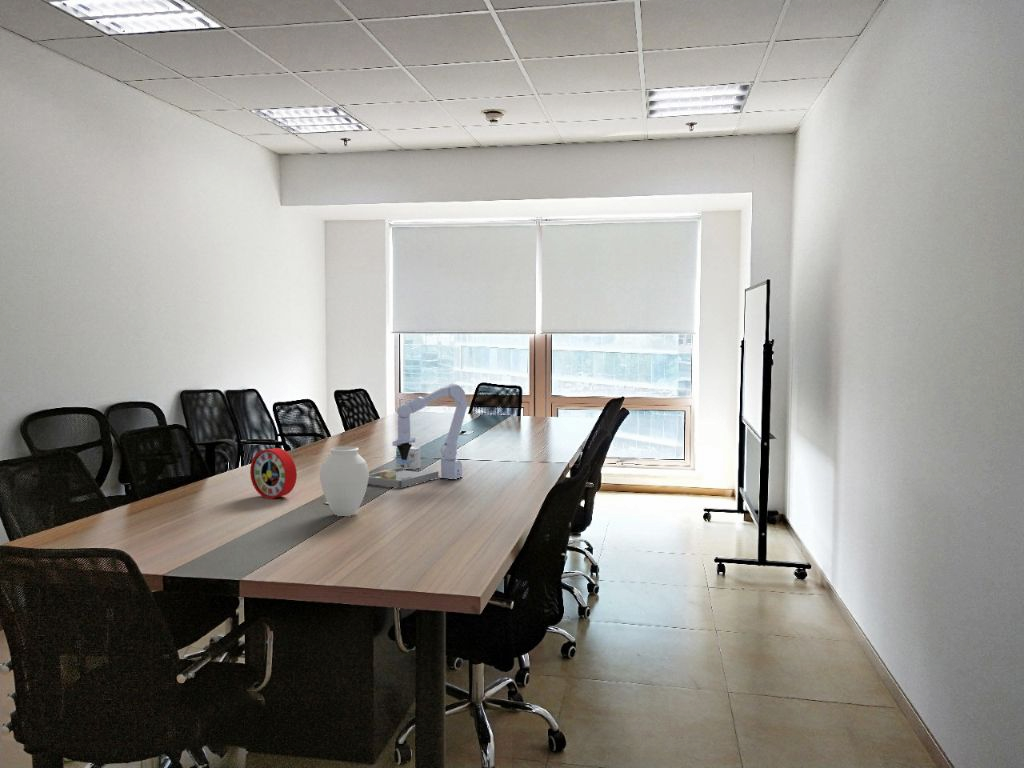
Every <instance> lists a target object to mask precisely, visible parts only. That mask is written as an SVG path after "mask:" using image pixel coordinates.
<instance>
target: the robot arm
mask: <svg viewBox="0 0 1024 768" xmlns="http://www.w3.org/2000/svg"><path fill="white" fill-rule="evenodd" d="M442 397H444V398H451V399H452V400H453V402H454V404H455V410H454V413H453V417H452V421H451V423H450V427H449V430H448V434H447V437H446V439H445V440H444V444H442V446H441V448H440V453H441V458H440V476H438V479H440V478H441V477H442V478H452V479H455V478H459V477H463V464H462V461H461V460H460V459H459V460H458V459H457V454H458V453H457V447H458V439H459V437H460V436H459V435H460V431H461V430H462V426H463V422H464V418H465V414H466V412H467V408H468V405H469V404H468V401H467V396H466V392H465V390H464V389H463V388H462V387H461V386H460V385H458V384H456V383H450V384H448V385H445V386H443V387H440V388H438V389H437V390H434V391H433V392H431V393H429V394H427V395H425V396H420V395H419V396H414V397H413V399H411V400H409V401H405V402H404V403H403V404H400V405H398V407H397V409H396V412H397V415H398V416H397V439H395V441H392V446H393V447H396V448H398V450H399V452H400V455H401V459H402V460H407V457H408V453H409V450H410V448H411V447H413V446H412V443H416V438H415V437H411V419H410V418H411V414H414V413H416V412H418V411H420V410H423V409H424V408H426V406H427V404H428V403H431V402H432V401H435V400H438V399H440V398H442ZM439 477H440V478H439ZM459 479H460V478H459Z"/></svg>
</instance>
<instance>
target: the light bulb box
mask: <svg viewBox="0 0 1024 768" xmlns="http://www.w3.org/2000/svg"><path fill="white" fill-rule="evenodd" d="M395 449H396V452H395V453H396V455H395V463H396V464H395V466H396V467H395V468H399V467H403V468H408V469H416V468H419V467H420V468H421V446H411V448H410V450H409V453H408V457H407V460H402V459H401V455H400V452H399V450H398V448H397V447H396V448H395ZM420 468H419V469H420Z"/></svg>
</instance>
